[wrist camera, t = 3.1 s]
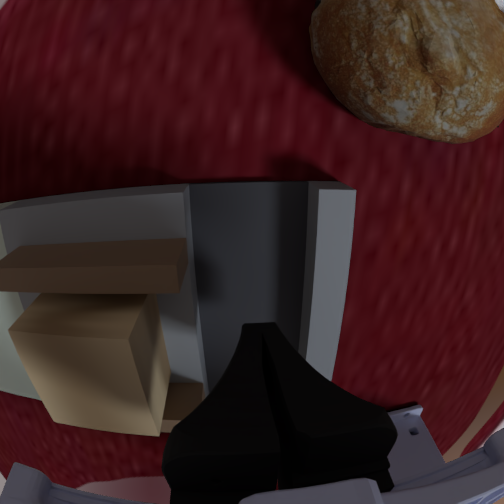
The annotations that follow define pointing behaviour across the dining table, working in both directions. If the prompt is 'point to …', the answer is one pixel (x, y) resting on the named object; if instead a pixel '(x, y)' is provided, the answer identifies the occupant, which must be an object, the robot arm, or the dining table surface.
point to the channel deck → (188, 268)
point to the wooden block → (96, 359)
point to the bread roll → (414, 64)
